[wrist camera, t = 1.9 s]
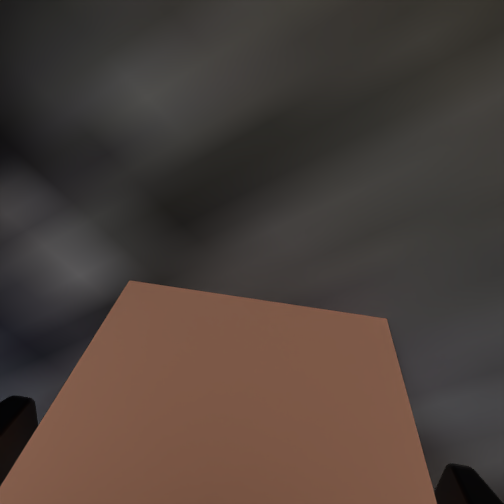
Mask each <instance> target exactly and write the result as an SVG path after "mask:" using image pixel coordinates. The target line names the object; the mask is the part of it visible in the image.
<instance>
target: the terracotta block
mask: <svg viewBox="0 0 504 504" xmlns="http://www.w3.org/2000/svg"><path fill="white" fill-rule="evenodd" d="M0 504H437V501H436V498H435V494H434V490H433V487H432V483H431V479H430V476H429V472H428V469H427V465H426V461H425V458H424V454H423V450H422V447H421V443H420V439H419V436H418V432H417V428H416V425H415V421H414V417H413V414H412V410H411V406H410V403H409V399H408V395H407V392H406V388H405V384H404V381H403V377H402V373H401V370H400V366H399V362H398V359H397V355H396V351H395V348H394V344H393V340H392V337H391V333H390V329H389V326H388V322H387V319H386V318H379V317H372V316H365V315H359V314H352V313H345V312H339V311H332V310H325V309H318V308H312V307H305V306H298V305H292V304H285V303H278V302H271V301H265V300H258V299H251V298H244V297H238V296H231V295H224V294H218V293H211V292H204V291H197V290H191V289H184V288H177V287H171V286H164V285H157V284H150V283H144V282H137V281H130V280H129V282H128V283H127V285H126V287H125V288H124V290H123V291H122V293H121V295H120V296H119V298H118V299H117V301H116V302H115V304H114V306H113V307H112V309H111V310H110V312H109V314H108V315H107V317H106V318H105V320H104V322H103V323H102V325H101V326H100V328H99V330H98V331H97V333H96V334H95V336H94V338H93V339H92V341H91V342H90V344H89V346H88V347H87V349H86V350H85V352H84V354H83V355H82V357H81V358H80V360H79V362H78V363H77V365H76V366H75V368H74V370H73V371H72V373H71V374H70V376H69V378H68V379H67V381H66V382H65V384H64V386H63V387H62V389H61V390H60V392H59V393H58V395H57V397H56V398H55V400H54V401H53V403H52V405H51V406H50V408H49V409H48V411H47V413H46V414H45V416H44V417H43V419H42V421H41V422H40V424H39V425H38V427H37V429H36V430H35V432H34V433H33V435H32V437H31V438H30V440H29V441H28V443H27V445H26V446H25V448H24V449H23V451H22V453H21V454H20V456H19V457H18V459H17V461H16V462H15V464H14V465H13V467H12V469H11V470H10V472H9V473H8V475H7V477H6V478H5V480H4V481H3V483H2V484H1V486H0Z"/></svg>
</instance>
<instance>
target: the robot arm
mask: <svg viewBox="0 0 504 504" xmlns="http://www.w3.org/2000/svg"><path fill="white" fill-rule="evenodd" d="M37 427H38V421H37V413H36V406H35V401H34V400H33V399H32V398H28V397H22V396H11V397H8V398H6V399H5V400H3V401H2V402H0V486H1V484H2V483H3V481H4V480H5V478H6V477H7V475H8V473H9V472H10V470H11V469H12V467H13V465H14V464H15V462H16V461H17V459H18V457H19V456H20V454H21V453H22V451H23V449H24V448H25V446H26V445H27V443H28V441H29V440H30V438H31V437H32V435H33V433H34V432H35V430H36V429H37ZM434 494H435V498H436V501H437V504H504V503H503V502H502V501H501V500H500V499H499V498H498V497H497V495H496V494H495V493H494V492H493V491H492V490H491V489H490V487H489V486H488V485H487V484H486V483H485V482H484V480H483V479H482V478H481V477H480V476H479V475H478V474H477V472H476V471H475V470H474V469H472V468H471V467H469V466H465V465H459V464H448V465H447V466H446V468H445V470H444V472H443V474H442V476H441V479H440V481H439V483H438V485H437V487H436V490H435V493H434Z"/></svg>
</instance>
